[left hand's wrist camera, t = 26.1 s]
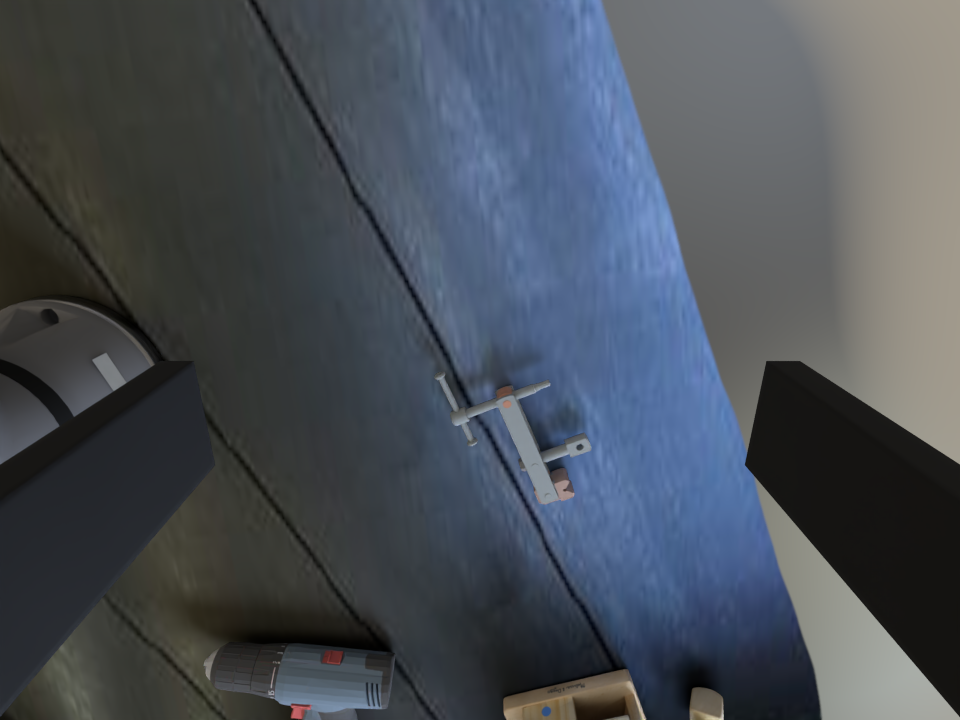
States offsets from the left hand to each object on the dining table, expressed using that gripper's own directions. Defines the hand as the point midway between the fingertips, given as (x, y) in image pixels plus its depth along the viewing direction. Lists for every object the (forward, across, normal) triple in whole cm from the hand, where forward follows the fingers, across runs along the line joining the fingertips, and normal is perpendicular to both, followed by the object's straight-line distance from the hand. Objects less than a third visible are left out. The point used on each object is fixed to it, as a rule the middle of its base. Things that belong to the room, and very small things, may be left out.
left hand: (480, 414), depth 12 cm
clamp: (+30, -4, +16) cm, 35 cm away
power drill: (+30, +19, +50) cm, 62 cm away
